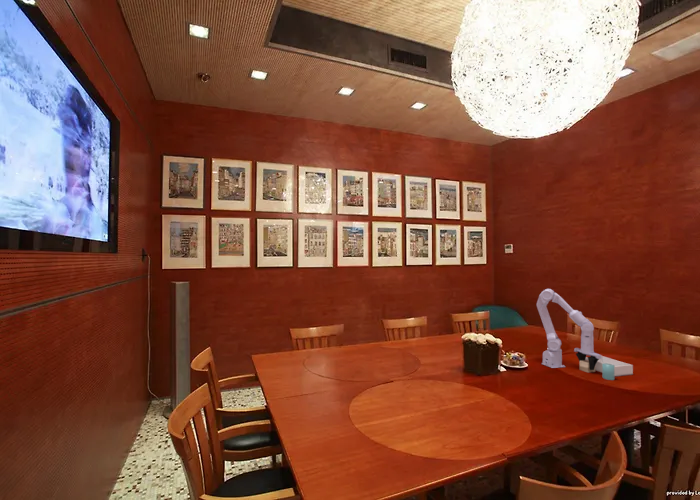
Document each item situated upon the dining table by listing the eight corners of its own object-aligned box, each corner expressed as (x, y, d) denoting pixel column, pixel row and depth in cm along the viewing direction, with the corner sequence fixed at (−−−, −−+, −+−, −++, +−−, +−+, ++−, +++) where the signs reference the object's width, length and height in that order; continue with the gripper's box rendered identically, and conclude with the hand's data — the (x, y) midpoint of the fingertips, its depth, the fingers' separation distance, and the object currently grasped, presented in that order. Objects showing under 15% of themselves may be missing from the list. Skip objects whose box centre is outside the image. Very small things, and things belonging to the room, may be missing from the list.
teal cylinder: (609, 380, 176) (609, 366, 176) (600, 377, 181) (600, 363, 181) (616, 379, 177) (616, 366, 178) (607, 376, 182) (607, 363, 182)
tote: (613, 376, 182) (613, 366, 182) (584, 366, 199) (584, 357, 199) (632, 374, 185) (632, 365, 185) (602, 364, 202) (602, 355, 202)
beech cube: (587, 372, 188) (587, 363, 188) (579, 369, 193) (579, 360, 193) (595, 371, 189) (595, 362, 189) (586, 368, 194) (586, 359, 194)
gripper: (605, 346, 185) (605, 371, 185) (581, 339, 199) (581, 363, 199) (595, 347, 183) (595, 372, 183) (571, 340, 197) (571, 364, 197)
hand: (587, 368), depth 191 cm, fingers closed on beech cube, 5 cm apart
